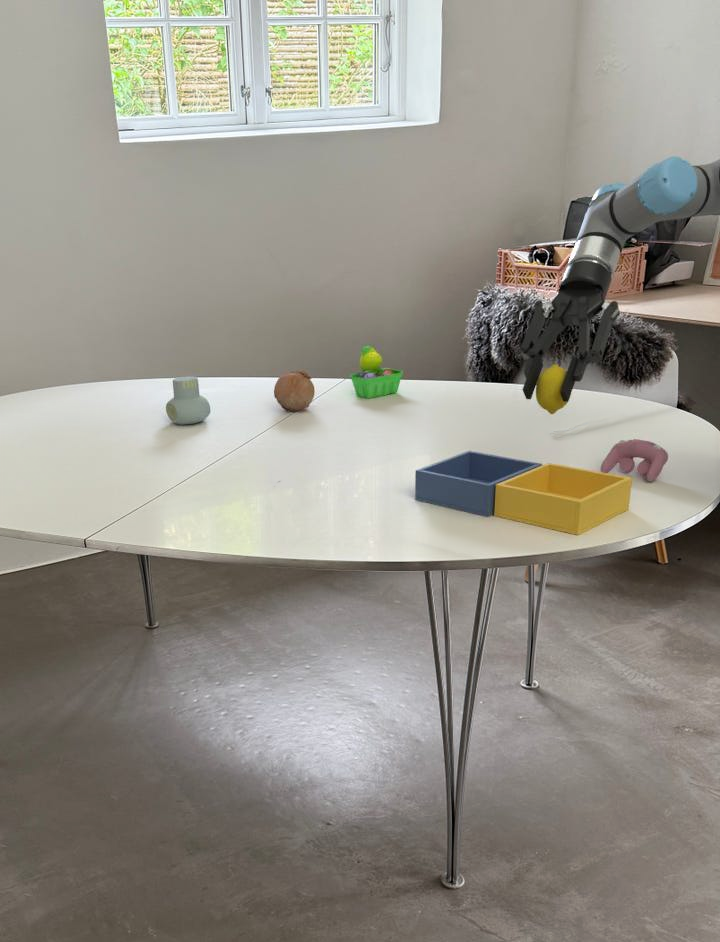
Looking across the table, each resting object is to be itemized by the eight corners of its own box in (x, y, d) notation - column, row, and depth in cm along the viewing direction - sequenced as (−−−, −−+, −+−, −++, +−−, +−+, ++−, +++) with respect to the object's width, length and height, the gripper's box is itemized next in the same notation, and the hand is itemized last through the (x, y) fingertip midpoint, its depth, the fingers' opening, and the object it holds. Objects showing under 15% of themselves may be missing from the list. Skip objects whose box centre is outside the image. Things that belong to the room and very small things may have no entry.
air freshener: (214, 423, 219) (211, 379, 215) (181, 429, 216) (177, 384, 212) (196, 415, 228) (192, 372, 224) (164, 420, 225) (159, 377, 221)
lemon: (527, 415, 155) (530, 366, 152) (546, 409, 159) (549, 360, 155) (557, 419, 152) (561, 368, 148) (576, 412, 155) (580, 362, 151)
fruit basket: (367, 400, 229) (366, 352, 224) (346, 395, 236) (345, 348, 232) (404, 392, 234) (405, 345, 229) (383, 387, 241) (382, 341, 236)
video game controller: (661, 487, 161) (675, 447, 160) (651, 481, 157) (665, 440, 156) (607, 477, 168) (620, 438, 167) (596, 471, 164) (609, 432, 163)
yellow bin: (628, 509, 148) (632, 477, 145) (578, 535, 139) (581, 502, 137) (546, 492, 158) (548, 462, 156) (494, 515, 149) (495, 484, 147)
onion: (306, 419, 229) (321, 378, 227) (304, 417, 220) (320, 375, 218) (270, 405, 230) (284, 365, 227) (266, 403, 220) (281, 361, 218)
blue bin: (540, 493, 158) (542, 463, 155) (488, 516, 149) (489, 485, 147) (467, 478, 168) (468, 450, 165) (414, 499, 159) (415, 470, 157)
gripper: (650, 288, 153) (607, 412, 149) (539, 289, 164) (496, 405, 159) (644, 257, 147) (599, 385, 143) (529, 259, 157) (484, 379, 153)
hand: (545, 395), depth 151 cm, fingers closed on lemon, 5 cm apart
